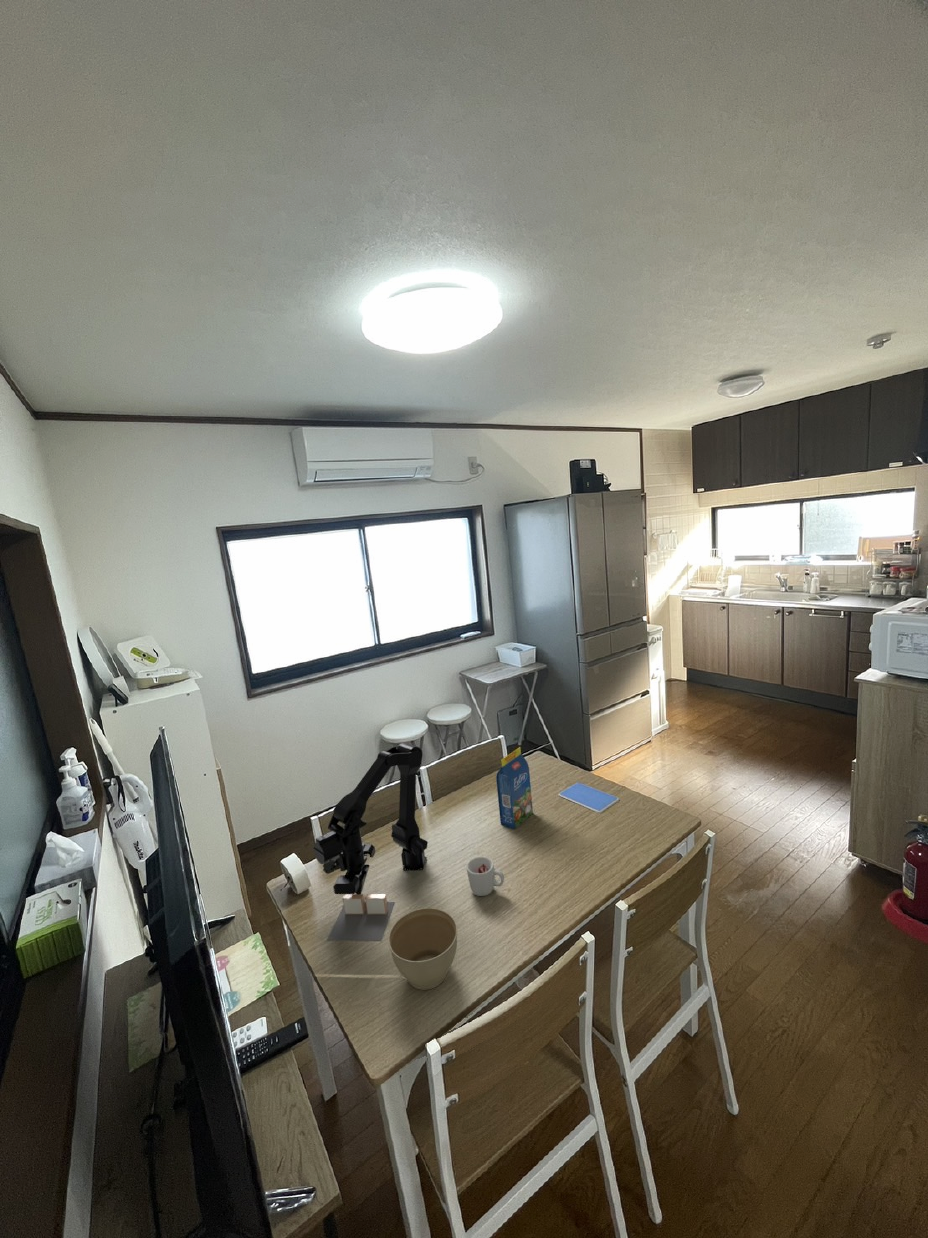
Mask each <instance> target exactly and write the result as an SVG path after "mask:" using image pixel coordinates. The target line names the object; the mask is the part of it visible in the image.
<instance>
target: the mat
mask: <svg viewBox="0 0 928 1238" xmlns="http://www.w3.org/2000/svg"><path fill="white" fill-rule="evenodd" d="M364 902H365V908H366V901H364ZM395 904H396V901H387V906H388V912H387V914H367V908H366V911H365V913H364V914H345V911H344V905H343V906H342V908H341V910H340V912H339V913H338V915H337V917H336V921H335V922H334V925H333V927H332V929H331V930H330V932H329V934H328V937H327V938H326V941H329V942H330V941H331V942H333V941H334V942H339V941H340V942H363V941H364V942H382V940H383V938H384V936H385V935H384V934H385V933H386V930H387V926H388V924H389V921H390V918H391V915H392V913H393V910H394V907H395Z"/></svg>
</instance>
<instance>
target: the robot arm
mask: <svg viewBox="0 0 928 1238" xmlns="http://www.w3.org/2000/svg"><path fill="white" fill-rule="evenodd" d="M423 756H424V755H423V749H421V747H419V746H416V745H414V744H410V743H408V742H401V743H400V744H399V745H396V746H392V747H390V748H388V749H386V750H382V751H380V752H379V753H378V754H377V756H376V759H375V761H374V762H373V764H371V766H370V767H369V769H368V770H367V771H366V772H365V774H364V776H363V777H362V778H361V780H360V781H359V782H358V784H357V786H356V787H355V788H354V789H353V790H352V791H351V792H349V793H347V794H346V795H344V796H343V797H342V798H341V799H340V800H339V801H338V802H337V803H336V805H334V808H333V813H332V816H331V818H330V821H329V823H328V825H327V829H328V830H329V832H327V833H325V834H323V835H321V836H319V837H316V838H315V843H314V844H313V847H312V849H313V851H312V852H313V854H314V856H315V859H316V860H317V862H318V863H319V864H321V865H322V867H323V869H322V870H323V872H324V873H325V874H326V875H329V874H331V873H333V872H335V871H337V870H340V872H345V871H346V872H345V874H343V875H339V876H338V877H337V879H336V881H335V882H334V884H333V887H332V888H333V894H334V895H345V894H363V893H362V892H363V889H364V886H365V881H366V879H367V875H368V872H369V869H370V864H366V862H367V860H368V855H369V858H374V856H375V854H376V847H375V846H374V845H373V844H371V843H367V844H366V843H365V842H363V838H362V832H361V828H363V827H365V826H366V825H367V823H368V822H366V821H365V820H363V819H362V818H363V816H364V814H365V812H366V809H367V802H369V801H368V800H369V799H370V797H371V796H372V795H373V793H374V791H376V789H377V788H378V786H379V785H380V783H381V782H382V781H383V779H384V778H385V776H386V775H387V773H388V772H389V770H391V768H392V767H395V766H397V769H398V771H399V775H400V776H399V806H398V808H399V809H398V814H399V815H398V819H397V821H396V822H395V823H393V824H391V830H392V831H391V835H390V837H391V838H392V841H393V843H395V844H397V845H398V846H399V847H401V848H402V849H401V853H400V856H401V862H402V863H401V864H402V866H403V869H402V870H403V871H406V872H407V871H409V872H410V871H424V867H425V866H426V862H427V859H428V857H427V856H425V855H426V854H425V850H427V848H428V843H429V842H428V841H427V840H425V839H423V838H421V834H420V828H419V825H418V823H417V821H416V797H417V795H416V794H417V791H416V787H417V773H418V771H419V770H420V768H421V766H422V761H423ZM339 823H341V824H342V825H343V826H342V825H340V824H339Z"/></svg>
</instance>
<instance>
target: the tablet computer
mask: <svg viewBox="0 0 928 1238" xmlns="http://www.w3.org/2000/svg"><path fill="white" fill-rule="evenodd" d="M558 797H561V798H563V799H566V800H568V801H570V802H573V803H576V804H577V805H579V806H582V807H584V808H586V809H588V810H591V811H593V812H595V813H596V814H597V813H598V814H601V813H603V812H604V811H606V810H607V809H609V808H610V807H612V806H613V805H615V804H616V803H618V802H619V801H620V799H619V797H618V796H614V795H612V794H609V793H607V792H604V791H602V790H599V789H597V788H595V787H594V788H593V787H591V786H588V785H586V784H583V783H581V782H576V783H574V784H573V785H571V786H569V787H568V788H565V790H562V791H561V792H559V793H558Z"/></svg>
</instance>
